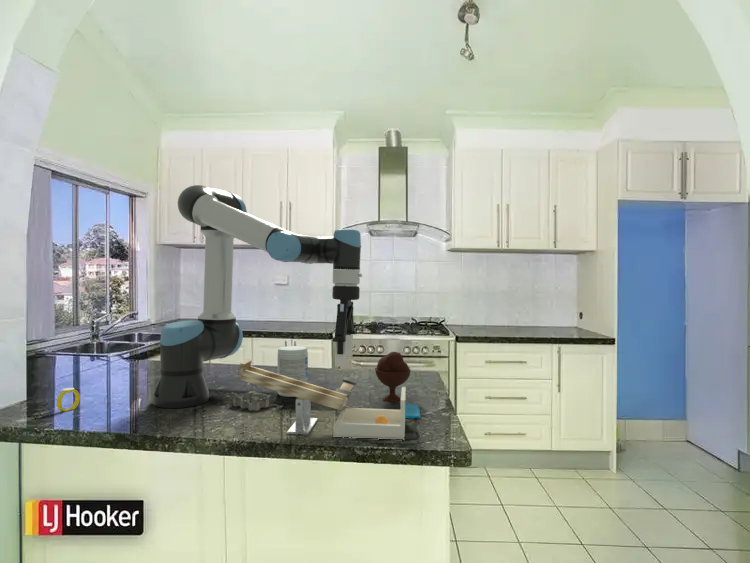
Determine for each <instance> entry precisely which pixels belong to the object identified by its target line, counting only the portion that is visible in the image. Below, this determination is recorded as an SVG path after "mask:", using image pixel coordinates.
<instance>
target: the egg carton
mask: <svg viewBox="0 0 750 563" xmlns="http://www.w3.org/2000/svg"><path fill="white" fill-rule="evenodd" d="M230 394H231V395H233V399H232V406H233V407H240V409H248V411H260V410H261V408H269V407H270V397H271V396H272V394H266V393H264V392H262V393H261V392H257V391H255V390H251V391H247V392H244V393H240V394H239V395H238V394H237V393H234V392H233V391H231V392H230Z"/></svg>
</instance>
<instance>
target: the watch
mask: <svg viewBox="0 0 750 563" xmlns="http://www.w3.org/2000/svg"><path fill="white" fill-rule="evenodd" d="M68 393H73V394H74V397H75V399H74V402H73V404H72V405H71V406H70V407H69V408H65V409H64V408H63V405H62V400H63V398H64V396H65V395H66V394H68ZM80 399H81V396H80V393H79V391H78V390H76V389H75V388H74V387H65V388H62V390H61V392H59V394H58V396H57V398H56V407H57V409H58V410H59V411H60V412H63V413H64V412H66V413H67V412H69V411H71V410H75V409H76V408H77V407H78V405H79V403H80V401H81V400H80Z"/></svg>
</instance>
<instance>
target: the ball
mask: <svg viewBox="0 0 750 563" xmlns="http://www.w3.org/2000/svg"><path fill="white" fill-rule="evenodd" d="M375 422H376V424H387V423H388V420H387V418H386V417H385V416H383V415H380V416H378V417H377V418H376V421H375Z"/></svg>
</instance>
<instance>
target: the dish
mask: <svg viewBox="0 0 750 563" xmlns="http://www.w3.org/2000/svg"><path fill="white" fill-rule="evenodd" d="M406 389H407V387H406V386H401V392H400V398H401V401H400V409H392V408H391V409H388V408H387V409H386V408H361V407H360V408H359V407H345V408H344V410H340V411H341V412H340V414H339V415H338V417H337V419H336V421H335V422H334V425H333V428H332V430H333V431H332V432H333V433H332V434H333V436H332V438H333V437H343V438H342V439H345V438H344V437H349V438H348V439H356V438H378V439H377V440H379V439H403V440H404V441H405V438H404V437H406V436H405V432H406V418H405V403H407V402H406V398H407V396H406V395H407V394H406V393H407V392H406V391H407V390H406ZM380 415H383V416H385V417H386V418H387V420H388V423H387V424H376V422H375V421H376V418H377V417H378V416H380ZM351 437H352V438H351Z"/></svg>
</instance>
